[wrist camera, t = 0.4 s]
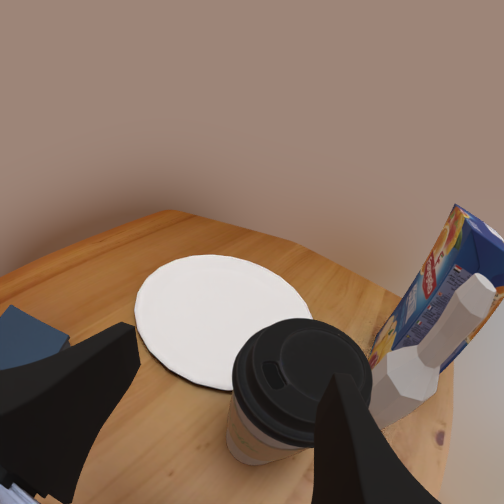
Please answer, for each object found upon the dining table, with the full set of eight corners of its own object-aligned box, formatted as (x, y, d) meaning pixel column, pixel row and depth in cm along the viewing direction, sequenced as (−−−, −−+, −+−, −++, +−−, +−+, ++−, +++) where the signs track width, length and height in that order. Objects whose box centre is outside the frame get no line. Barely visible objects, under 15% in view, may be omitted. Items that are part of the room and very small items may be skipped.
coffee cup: (188, 434, 22) (202, 352, 14) (253, 387, 28) (301, 291, 21) (257, 498, 17) (336, 469, 9) (315, 439, 24) (400, 364, 16)
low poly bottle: (327, 402, 28) (442, 249, 17) (370, 402, 29) (484, 265, 17) (333, 449, 23) (487, 306, 11) (379, 444, 24) (522, 313, 12)
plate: (104, 290, 35) (103, 284, 34) (229, 245, 52) (230, 239, 51) (223, 436, 23) (225, 432, 22) (340, 326, 40) (343, 320, 40)
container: (31, 435, 15) (18, 424, 13) (-28, 387, 14) (-40, 373, 13) (75, 350, 25) (69, 335, 24) (17, 320, 25) (10, 304, 23)
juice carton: (400, 409, 28) (523, 266, 16) (357, 386, 31) (472, 228, 18) (411, 354, 37) (496, 230, 25) (376, 334, 40) (454, 203, 27)
